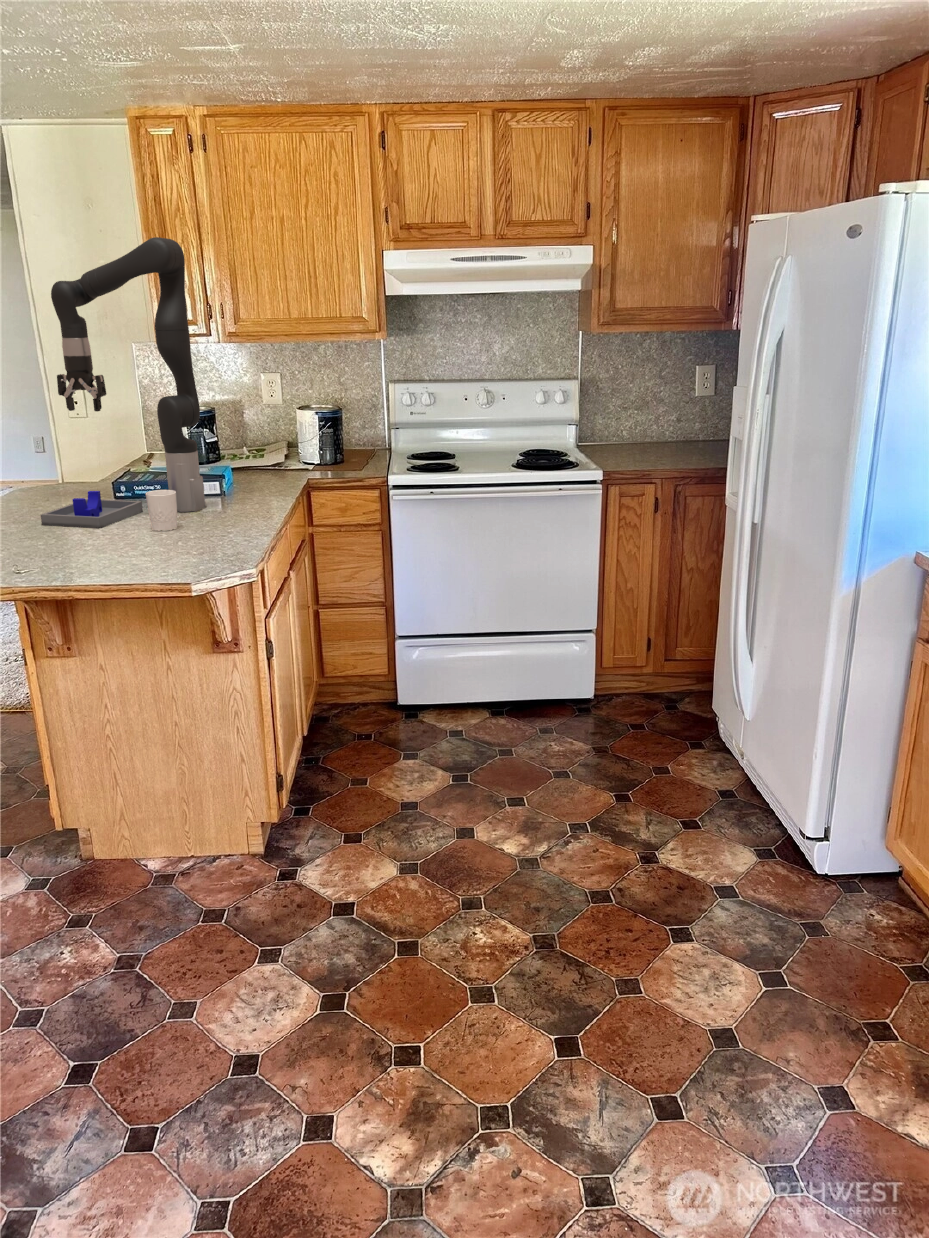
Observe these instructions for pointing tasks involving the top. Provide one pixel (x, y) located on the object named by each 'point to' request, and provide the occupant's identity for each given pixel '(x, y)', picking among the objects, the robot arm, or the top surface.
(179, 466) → the robot arm
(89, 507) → the blue curved block
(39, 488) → the top surface
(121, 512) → the tray
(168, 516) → the white cup
